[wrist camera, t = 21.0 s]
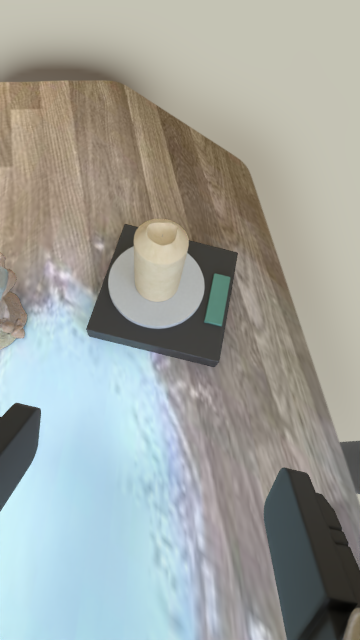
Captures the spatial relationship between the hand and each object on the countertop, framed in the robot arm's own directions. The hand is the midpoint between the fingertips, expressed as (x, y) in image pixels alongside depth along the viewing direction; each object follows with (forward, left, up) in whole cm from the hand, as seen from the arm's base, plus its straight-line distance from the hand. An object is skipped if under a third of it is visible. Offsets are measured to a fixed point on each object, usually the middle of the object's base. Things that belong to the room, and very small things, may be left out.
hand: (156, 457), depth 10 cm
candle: (+4, -19, -24) cm, 31 cm away
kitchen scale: (+2, -20, -27) cm, 33 cm away
